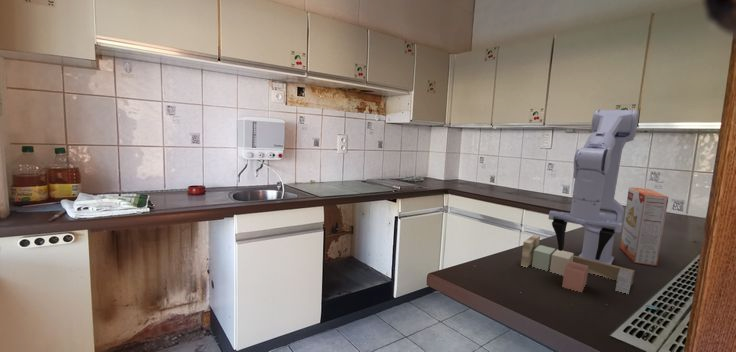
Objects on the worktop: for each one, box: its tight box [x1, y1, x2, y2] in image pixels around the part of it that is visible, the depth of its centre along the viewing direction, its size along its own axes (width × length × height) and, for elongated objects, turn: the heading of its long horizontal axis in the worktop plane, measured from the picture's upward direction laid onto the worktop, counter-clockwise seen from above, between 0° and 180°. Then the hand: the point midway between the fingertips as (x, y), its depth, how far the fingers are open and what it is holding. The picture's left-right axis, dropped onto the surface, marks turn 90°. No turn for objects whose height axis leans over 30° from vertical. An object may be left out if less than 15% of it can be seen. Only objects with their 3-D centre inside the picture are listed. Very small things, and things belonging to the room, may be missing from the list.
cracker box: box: [619, 187, 669, 267], centre depth 102 cm, size 14×6×21 cm, turn 157°
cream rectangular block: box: [549, 248, 575, 277], centre depth 90 cm, size 6×4×5 cm, turn 138°
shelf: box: [520, 234, 635, 286], centre depth 88 cm, size 10×24×7 cm, turn 48°
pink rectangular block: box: [561, 261, 589, 294], centre depth 81 cm, size 6×4×5 cm, turn 138°
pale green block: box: [531, 244, 556, 272], centre depth 93 cm, size 6×4×5 cm, turn 138°
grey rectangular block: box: [614, 269, 633, 295], centre depth 81 cm, size 6×2×4 cm, turn 138°
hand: (578, 254), depth 80 cm, fingers open, 7 cm apart
